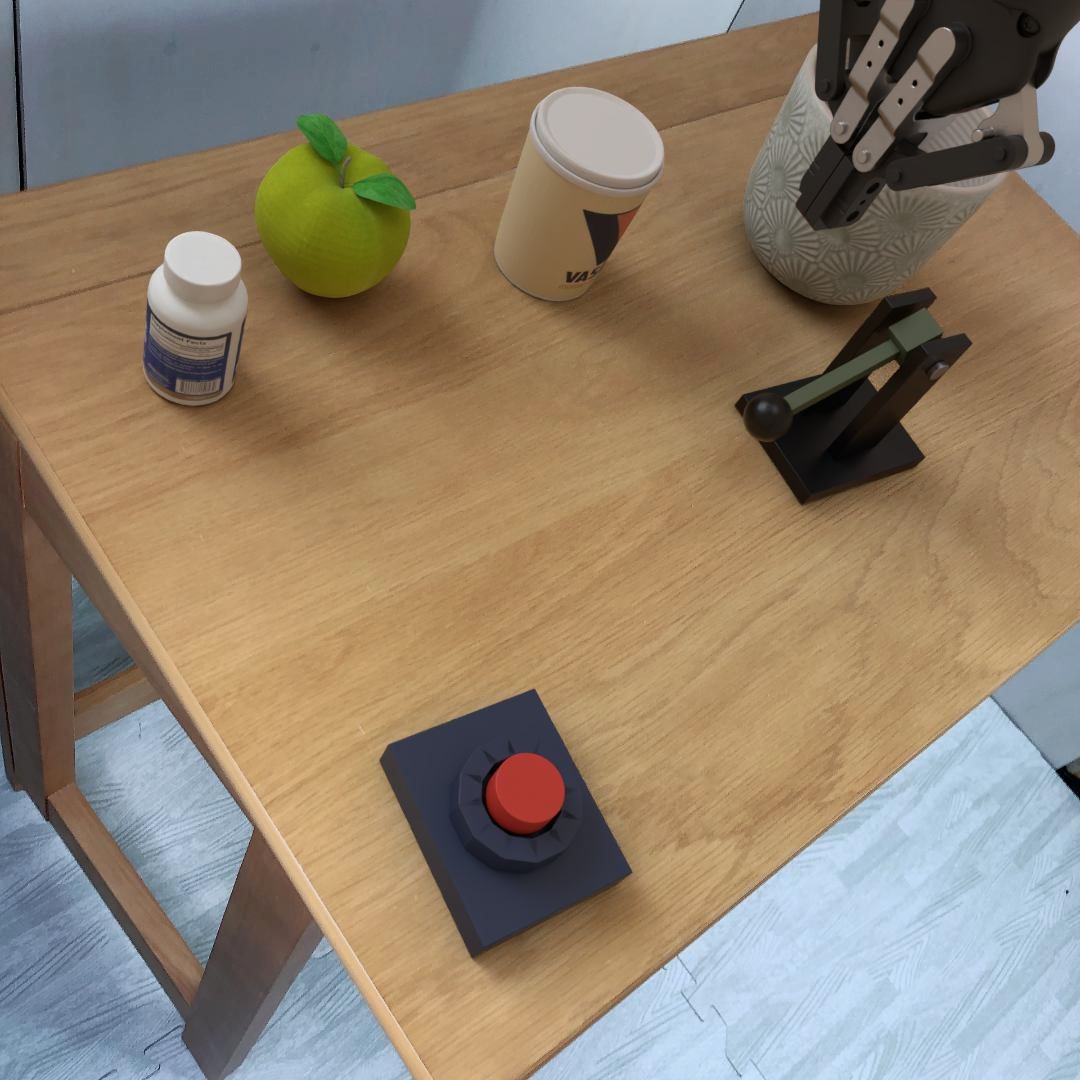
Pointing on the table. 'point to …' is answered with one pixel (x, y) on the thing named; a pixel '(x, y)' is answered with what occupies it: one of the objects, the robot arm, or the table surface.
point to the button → (525, 793)
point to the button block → (480, 842)
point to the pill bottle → (195, 319)
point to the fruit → (332, 213)
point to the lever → (838, 377)
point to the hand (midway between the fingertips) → (818, 217)
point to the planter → (883, 231)
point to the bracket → (860, 411)
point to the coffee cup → (575, 191)
